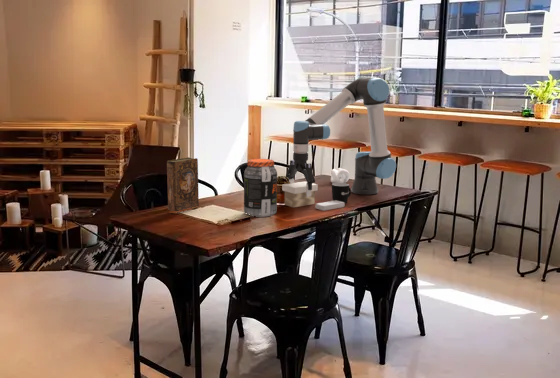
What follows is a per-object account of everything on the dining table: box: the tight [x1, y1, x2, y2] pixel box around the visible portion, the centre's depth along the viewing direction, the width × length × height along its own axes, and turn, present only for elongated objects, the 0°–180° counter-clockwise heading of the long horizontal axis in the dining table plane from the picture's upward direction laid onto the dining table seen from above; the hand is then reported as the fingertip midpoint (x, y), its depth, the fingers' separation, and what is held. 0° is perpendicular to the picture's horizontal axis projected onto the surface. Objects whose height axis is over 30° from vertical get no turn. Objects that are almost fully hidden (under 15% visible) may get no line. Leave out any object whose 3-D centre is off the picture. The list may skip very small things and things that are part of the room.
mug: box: [331, 182, 352, 204], centre depth 297 cm, size 12×9×10 cm
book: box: [166, 156, 200, 211], centre depth 276 cm, size 16×6×25 cm, turn 145°
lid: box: [281, 181, 319, 194], centre depth 290 cm, size 15×10×4 cm, turn 128°
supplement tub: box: [243, 158, 278, 218], centre depth 272 cm, size 16×16×26 cm
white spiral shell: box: [330, 167, 350, 184], centre depth 349 cm, size 11×12×9 cm
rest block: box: [314, 200, 346, 212], centre depth 285 cm, size 14×6×3 cm, turn 128°
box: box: [284, 191, 316, 208], centre depth 291 cm, size 14×7×8 cm, turn 128°
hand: (299, 193), depth 290 cm, fingers open, 13 cm apart
